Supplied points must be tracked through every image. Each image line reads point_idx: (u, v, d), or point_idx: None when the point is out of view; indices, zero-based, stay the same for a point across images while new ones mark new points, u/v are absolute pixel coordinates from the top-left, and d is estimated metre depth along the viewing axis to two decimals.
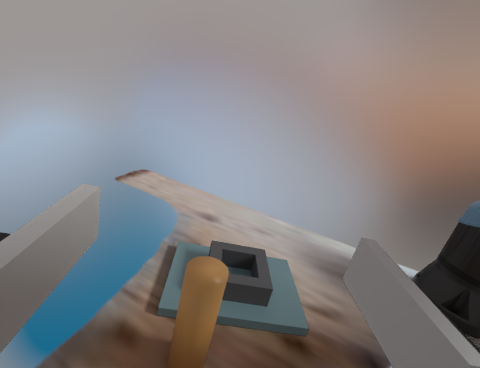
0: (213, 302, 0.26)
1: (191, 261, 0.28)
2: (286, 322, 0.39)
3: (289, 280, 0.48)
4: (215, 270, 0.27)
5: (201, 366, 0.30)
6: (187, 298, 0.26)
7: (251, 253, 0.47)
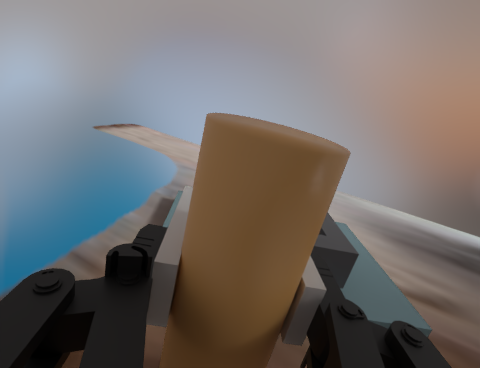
0: (306, 235, 0.07)
1: (221, 114, 0.09)
2: (387, 317, 0.20)
3: (361, 249, 0.29)
4: (300, 136, 0.08)
5: None
6: (211, 219, 0.07)
7: None
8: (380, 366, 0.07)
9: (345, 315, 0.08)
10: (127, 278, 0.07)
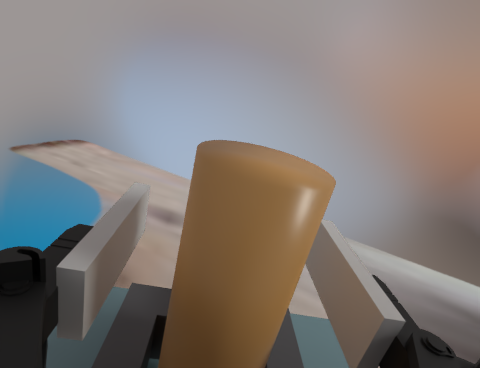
0: (293, 263, 0.08)
1: (212, 142, 0.09)
2: None
3: None
4: (289, 165, 0.08)
5: None
6: (201, 249, 0.08)
7: None
8: None
9: (430, 349, 0.08)
10: (14, 287, 0.06)
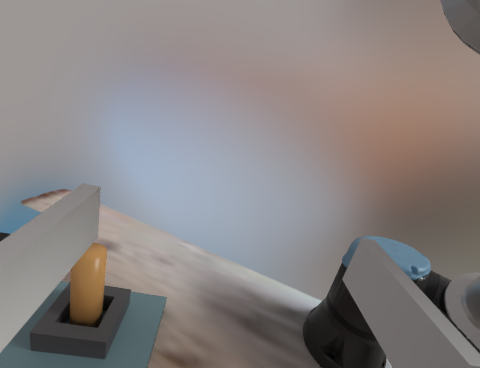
0: (90, 275, 0.37)
1: None
2: None
3: (154, 323, 0.45)
4: (95, 252, 0.37)
5: (93, 326, 0.40)
6: (71, 272, 0.37)
7: (110, 295, 0.44)
8: None
9: None
10: None
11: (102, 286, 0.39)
